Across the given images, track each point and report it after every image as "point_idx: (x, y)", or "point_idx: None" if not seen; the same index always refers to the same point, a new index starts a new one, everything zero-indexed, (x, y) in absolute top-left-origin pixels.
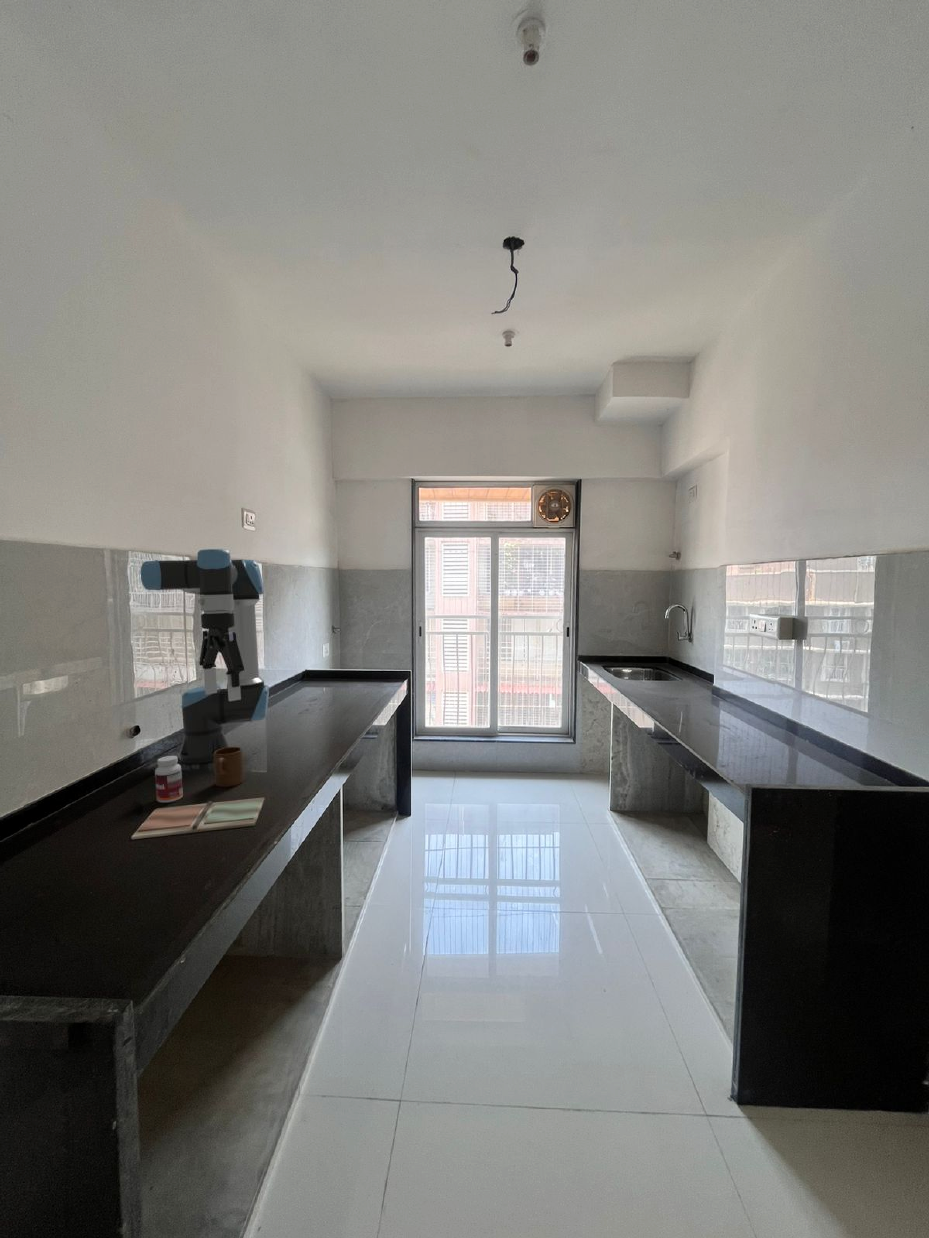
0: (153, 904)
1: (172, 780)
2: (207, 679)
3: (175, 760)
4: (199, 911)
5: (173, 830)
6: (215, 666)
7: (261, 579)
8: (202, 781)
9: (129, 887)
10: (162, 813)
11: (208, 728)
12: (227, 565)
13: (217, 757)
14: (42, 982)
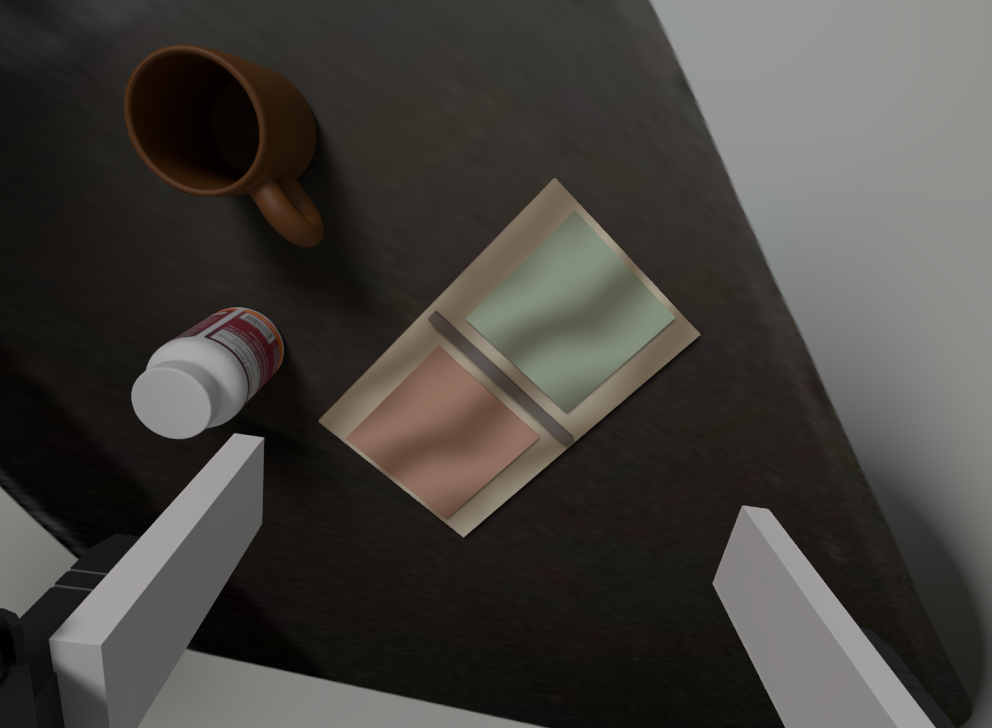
0: None
1: (258, 380)
2: (190, 620)
3: (208, 386)
4: (893, 602)
5: (525, 471)
6: (18, 635)
7: None
8: (149, 179)
9: (687, 622)
10: (384, 435)
11: None
12: None
13: (225, 195)
14: None
